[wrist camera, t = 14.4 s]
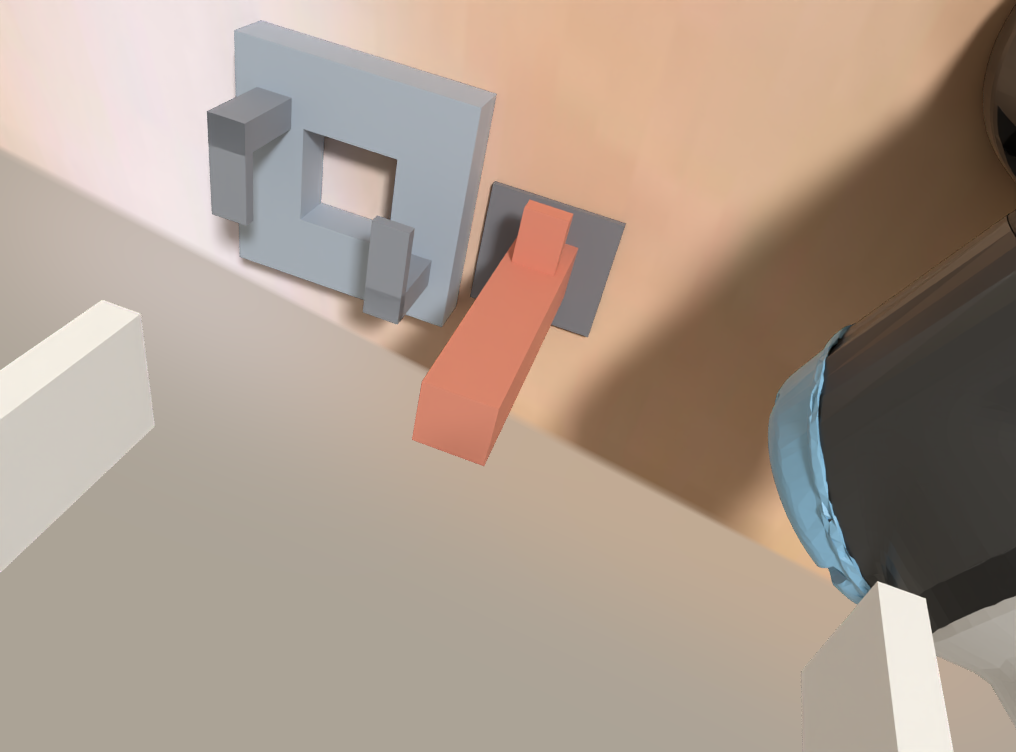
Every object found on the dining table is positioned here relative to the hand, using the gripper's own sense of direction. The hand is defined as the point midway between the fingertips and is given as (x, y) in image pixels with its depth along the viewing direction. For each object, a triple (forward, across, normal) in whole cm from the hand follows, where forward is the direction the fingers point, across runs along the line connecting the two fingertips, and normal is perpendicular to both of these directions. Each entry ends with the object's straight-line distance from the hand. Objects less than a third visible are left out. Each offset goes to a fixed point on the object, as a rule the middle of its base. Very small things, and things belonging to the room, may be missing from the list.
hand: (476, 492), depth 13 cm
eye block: (+37, -18, -14) cm, 43 cm away
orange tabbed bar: (+36, -4, -16) cm, 40 cm away
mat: (+37, -4, -16) cm, 40 cm away
